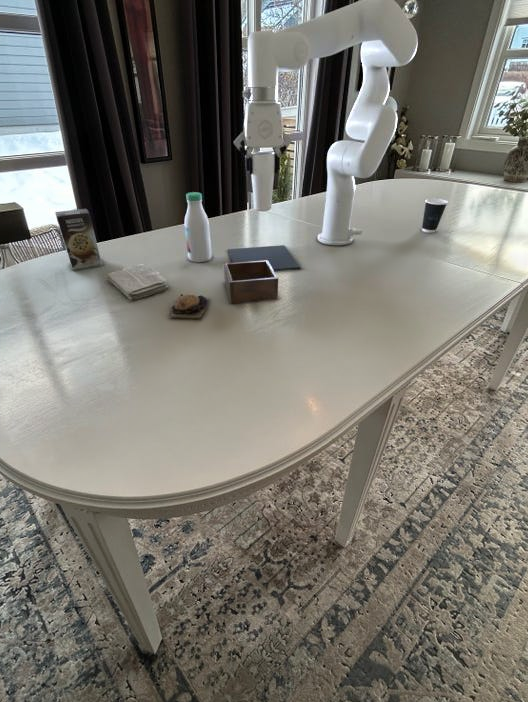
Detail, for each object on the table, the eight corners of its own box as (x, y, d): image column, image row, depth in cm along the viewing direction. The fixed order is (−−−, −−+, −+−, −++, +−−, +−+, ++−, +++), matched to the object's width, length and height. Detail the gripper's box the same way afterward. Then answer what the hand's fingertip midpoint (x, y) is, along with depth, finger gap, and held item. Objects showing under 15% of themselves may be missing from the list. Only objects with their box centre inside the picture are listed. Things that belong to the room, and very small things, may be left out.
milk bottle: (215, 255, 123) (211, 191, 111) (205, 264, 117) (199, 197, 106) (194, 253, 125) (188, 189, 113) (184, 261, 120) (175, 195, 108)
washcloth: (131, 302, 97) (129, 292, 95) (105, 280, 108) (103, 270, 106) (171, 290, 103) (170, 279, 101) (143, 270, 114) (141, 260, 112)
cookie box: (72, 270, 114) (55, 216, 104) (70, 263, 118) (53, 211, 108) (103, 265, 117) (89, 212, 107) (100, 258, 121) (86, 207, 112)
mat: (284, 246, 130) (284, 245, 130) (300, 268, 114) (300, 267, 114) (228, 250, 127) (227, 249, 126) (236, 274, 111) (236, 272, 111)
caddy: (267, 279, 108) (267, 260, 104) (277, 299, 98) (278, 278, 94) (224, 283, 106) (223, 263, 102) (231, 303, 96) (229, 282, 92)
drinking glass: (271, 213, 107) (272, 155, 98) (249, 212, 108) (248, 154, 99) (275, 207, 113) (276, 151, 104) (253, 206, 114) (253, 150, 105)
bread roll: (201, 320, 89) (200, 307, 87) (167, 318, 90) (165, 305, 88) (210, 299, 98) (209, 287, 96) (179, 298, 99) (177, 285, 96)
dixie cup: (428, 235, 140) (436, 204, 133) (413, 229, 145) (420, 199, 139) (444, 232, 142) (453, 202, 135) (428, 226, 148) (436, 197, 141)
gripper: (231, 97, 90) (234, 177, 100) (299, 96, 92) (295, 174, 103) (227, 96, 95) (230, 172, 106) (291, 95, 98) (288, 169, 109)
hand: (262, 172), depth 104 cm, fingers closed on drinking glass, 6 cm apart
